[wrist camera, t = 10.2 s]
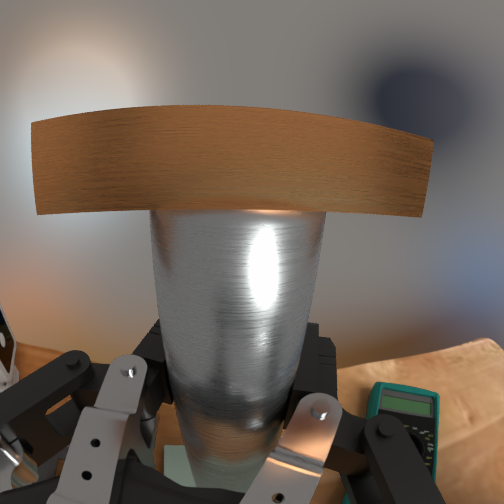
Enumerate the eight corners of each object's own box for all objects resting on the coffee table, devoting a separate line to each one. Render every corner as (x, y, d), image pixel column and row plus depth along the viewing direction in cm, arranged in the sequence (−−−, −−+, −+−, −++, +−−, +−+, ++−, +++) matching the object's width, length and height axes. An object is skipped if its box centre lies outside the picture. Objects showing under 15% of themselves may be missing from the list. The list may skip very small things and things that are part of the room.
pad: (287, 441, 20) (288, 436, 20) (318, 542, 11) (321, 541, 11) (165, 449, 19) (164, 444, 19) (169, 557, 10) (167, 556, 10)
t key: (299, 441, 15) (372, 132, 8) (316, 494, 11) (462, 145, 5) (151, 450, 14) (82, 121, 7) (150, 507, 10) (4, 124, 3)
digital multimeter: (330, 525, 13) (342, 517, 12) (368, 393, 26) (377, 374, 24) (415, 534, 10) (435, 525, 9) (430, 405, 23) (442, 387, 22)
